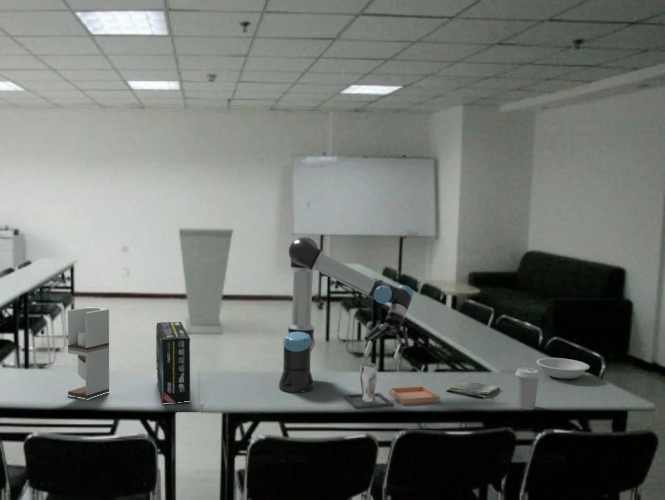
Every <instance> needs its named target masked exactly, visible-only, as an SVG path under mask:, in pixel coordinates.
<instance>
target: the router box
mask: <svg viewBox="0 0 665 500" xmlns="http://www.w3.org/2000/svg"><path fill="white" fill-rule="evenodd" d="M155 333H156V334H155V335H156V336H155V340H156V343H155V344H156V345H155V346H156V347H155V349H156V350H155V351H156V353H155V354H156V358H155V359H156V362H155V364H156V370H157V371H156V375H157V376H156V379H157V381H158V382H157V386H158V385H159V386H158V390H159V394H161V395H160V399H161V398H162V399H161V403H162V402H163V403H178V402H184V401H190V402H191V350H190V347H191V344H190V343H191V338H190V336H189V334H188V332H187V330H186V329H185V326H184V325H183V323H182V321H168V322H161V321H160V322H157V323H156V328H155ZM163 403H162V404H163Z"/></svg>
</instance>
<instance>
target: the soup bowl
mask: <svg viewBox="0 0 665 500" xmlns="http://www.w3.org/2000/svg"><path fill="white" fill-rule="evenodd" d="M535 362H536V364H537V365H538V366H539V367H540V369H541V370H542V372H544V373H545V374H546V375H548V376H550V377H553V378H557V379H565V380H566V379H567V380H569V379H570V380H572V379H576V378H579V377H580V376H582V375H583V374H584V373H585V371H587V370H589V369H590V367H591V366H590V365H589V364H588V363H585V362H583V361H580V360H575V359H570V358H569V359H568V358H561V357H560V358H559V357H544V358H540V359H539V358H538V359H536V361H535Z"/></svg>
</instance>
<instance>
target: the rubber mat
mask: <svg viewBox="0 0 665 500" xmlns="http://www.w3.org/2000/svg"><path fill="white" fill-rule="evenodd" d="M361 396H362V393H355V394H354V393H353V394H343V395H342V397H343V398H344V399H345V400H346V401H347V402H348V403H349V404H350V405H351V406H352V407H353V408H354V409H356V410H357V409H370V408H373V409H374V408H382V407H383V408H384V407H394V406H395V405H394V403H393V402H392V401H391V400H389V399H388V398H387V396H385V395H383V394H382V393H381V392H375V397H378V398H379V399H381V400H382V401H383V402H384V403H371V404H357V403H356V402H355V400H353V399H352V398H361ZM350 397H351V398H350Z"/></svg>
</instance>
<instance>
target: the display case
mask: <svg viewBox="0 0 665 500" xmlns="http://www.w3.org/2000/svg"><path fill="white" fill-rule="evenodd" d="M67 354H72V355H77V374H78V376H79V377H80V378H81V379H82V380H84V381H85V386H83V387H82V386H81V387H78V388H75V389H71V390H69V391H67V396H68V395H71V396H75V397H81V398H85V399H89V398H91V397H94V396H97V395H100V394H103V393H106V392H109V393H110V309H109V308H101V307H95V306H88V307H82V308H75V309H69V310H67Z"/></svg>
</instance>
